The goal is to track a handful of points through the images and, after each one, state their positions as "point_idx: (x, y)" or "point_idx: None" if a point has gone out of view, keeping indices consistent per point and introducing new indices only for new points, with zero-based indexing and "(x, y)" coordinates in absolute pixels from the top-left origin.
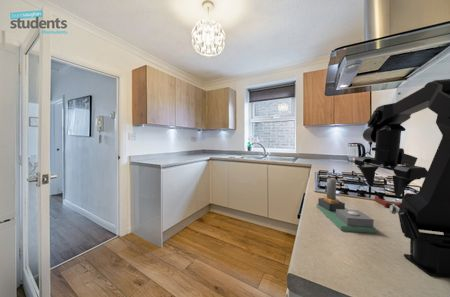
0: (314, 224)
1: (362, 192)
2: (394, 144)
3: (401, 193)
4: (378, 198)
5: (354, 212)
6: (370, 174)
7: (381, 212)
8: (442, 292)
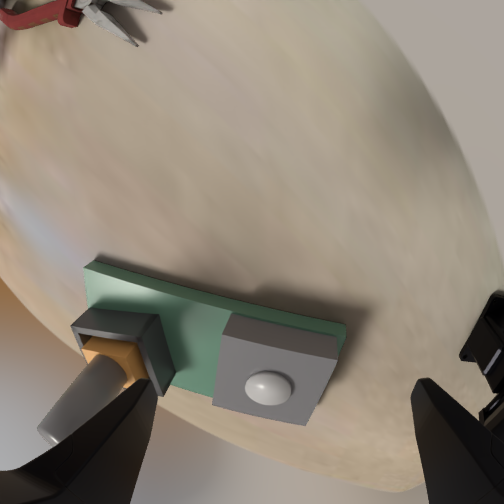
0: (262, 437)
1: None
2: None
3: (446, 399)
4: (17, 20)
5: (264, 385)
6: (106, 493)
7: (125, 88)
8: None
